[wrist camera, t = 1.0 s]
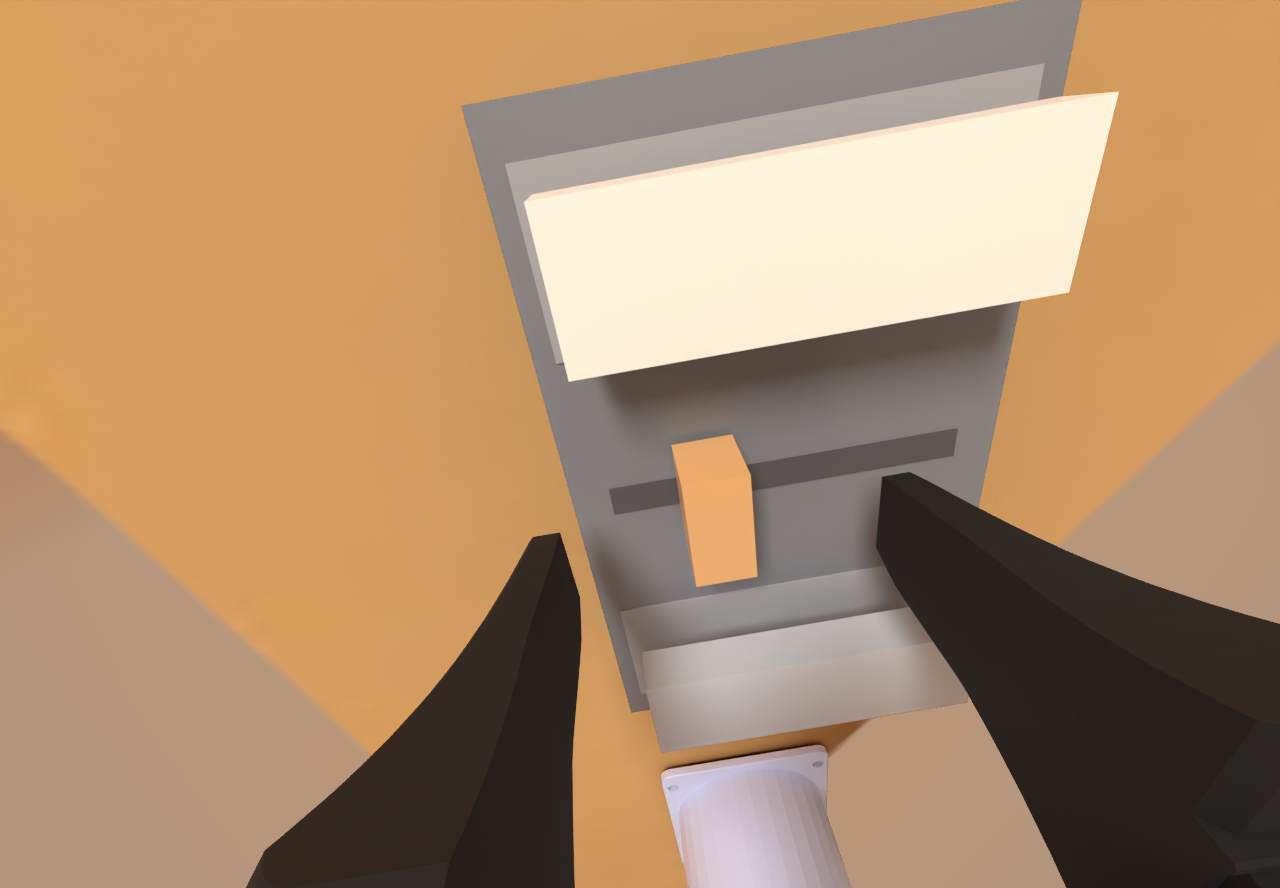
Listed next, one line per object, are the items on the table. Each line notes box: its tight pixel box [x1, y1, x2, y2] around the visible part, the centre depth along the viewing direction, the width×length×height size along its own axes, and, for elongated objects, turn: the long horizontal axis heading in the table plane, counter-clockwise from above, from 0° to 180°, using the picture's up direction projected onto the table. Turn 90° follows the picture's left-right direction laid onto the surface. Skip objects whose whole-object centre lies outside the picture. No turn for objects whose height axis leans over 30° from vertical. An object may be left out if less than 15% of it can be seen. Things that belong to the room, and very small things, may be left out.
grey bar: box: [642, 607, 969, 753], centre depth 15 cm, size 3×9×1 cm, turn 99°
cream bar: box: [524, 92, 1119, 382], centre depth 9 cm, size 3×9×1 cm, turn 99°
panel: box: [461, 0, 1082, 713], centre depth 15 cm, size 18×11×3 cm, turn 9°
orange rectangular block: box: [671, 434, 758, 587], centre depth 13 cm, size 3×2×2 cm, turn 9°
